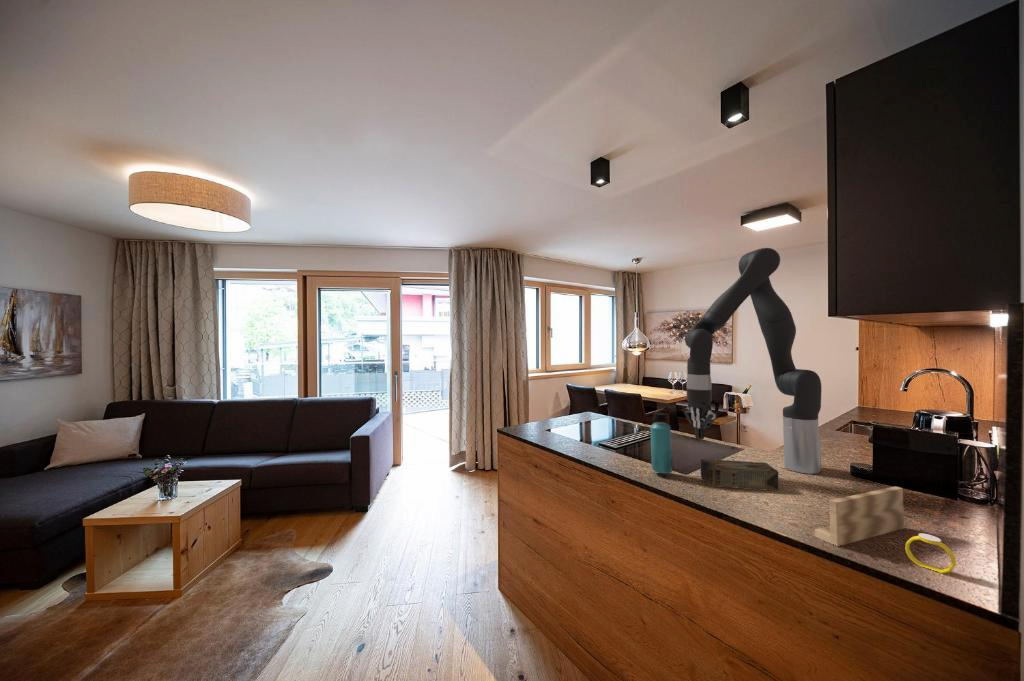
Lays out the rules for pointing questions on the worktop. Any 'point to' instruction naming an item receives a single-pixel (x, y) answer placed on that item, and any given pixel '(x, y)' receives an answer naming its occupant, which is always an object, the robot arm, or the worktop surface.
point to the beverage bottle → (661, 445)
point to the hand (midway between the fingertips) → (699, 438)
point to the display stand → (863, 516)
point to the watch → (935, 541)
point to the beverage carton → (739, 474)
